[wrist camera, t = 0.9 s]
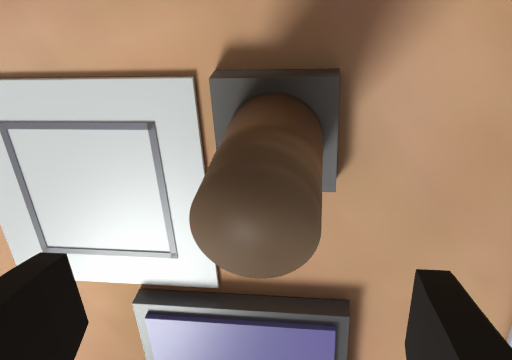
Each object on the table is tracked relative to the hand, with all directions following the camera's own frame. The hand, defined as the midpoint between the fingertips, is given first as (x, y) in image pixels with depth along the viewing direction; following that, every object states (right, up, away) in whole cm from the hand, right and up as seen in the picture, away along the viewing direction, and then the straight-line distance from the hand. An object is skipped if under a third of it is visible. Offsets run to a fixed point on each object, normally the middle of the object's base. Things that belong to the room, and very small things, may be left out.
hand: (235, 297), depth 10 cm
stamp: (+1, +4, +8) cm, 9 cm away
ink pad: (0, -6, +14) cm, 15 cm away
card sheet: (-7, +2, +10) cm, 12 cm away
